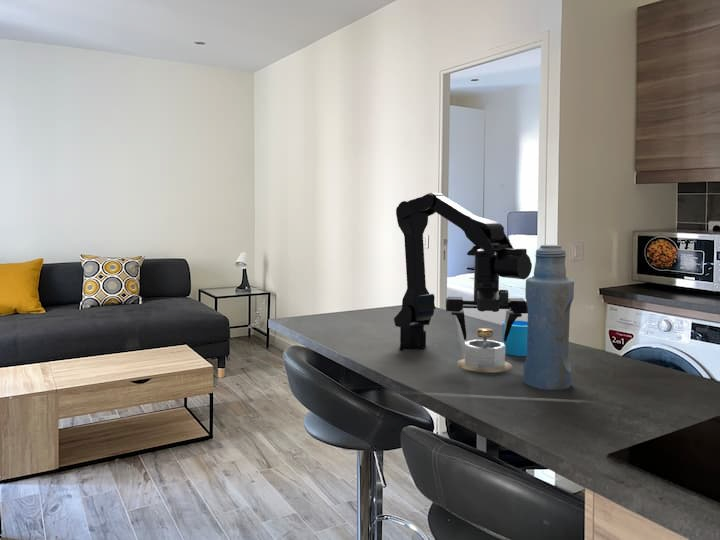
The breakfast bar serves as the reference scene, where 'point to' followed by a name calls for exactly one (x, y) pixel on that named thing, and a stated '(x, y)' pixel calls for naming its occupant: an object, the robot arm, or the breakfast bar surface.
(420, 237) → the robot arm
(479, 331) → the plunger
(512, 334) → the mug
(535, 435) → the breakfast bar surface
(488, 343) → the grey piece
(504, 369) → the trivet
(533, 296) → the bottle
